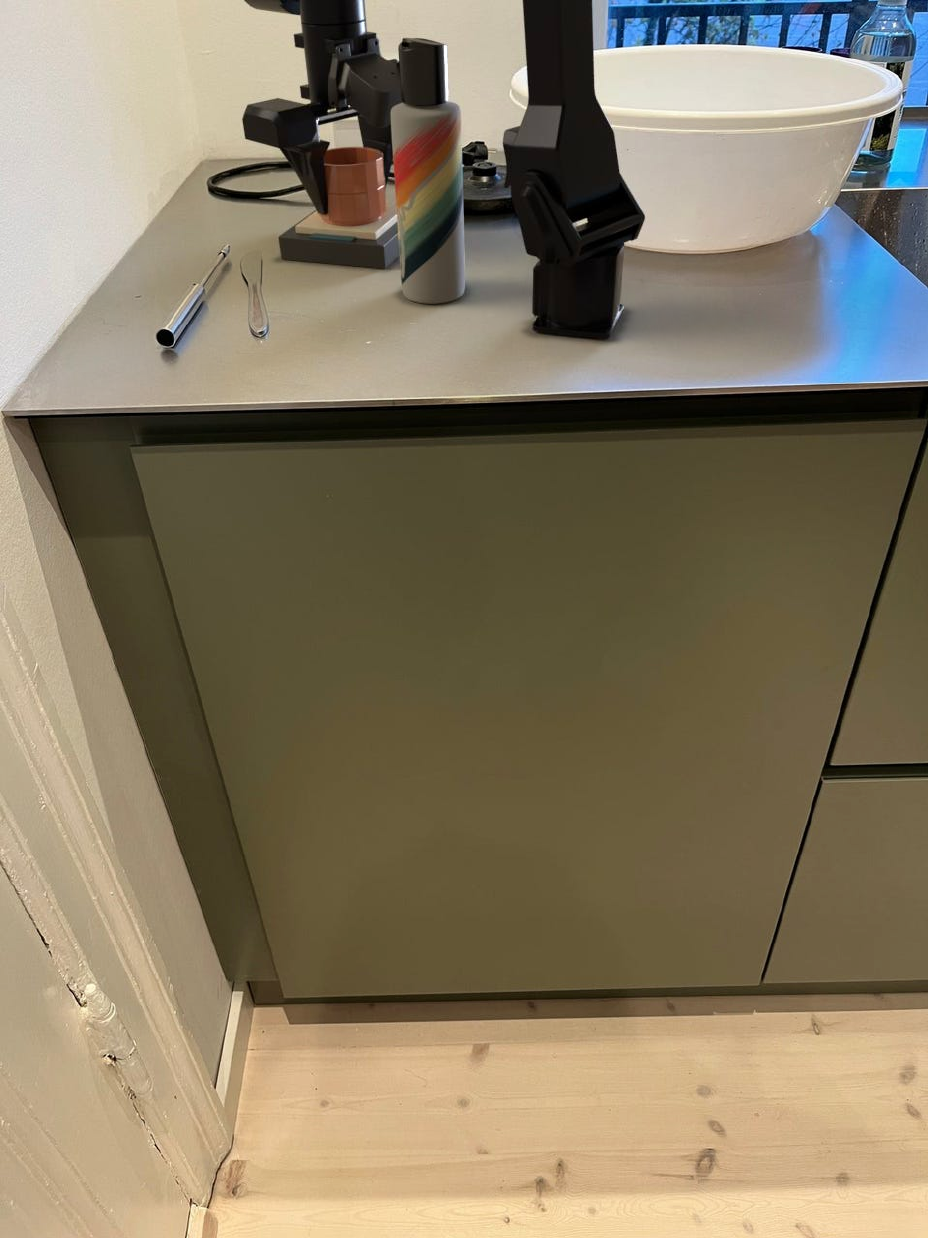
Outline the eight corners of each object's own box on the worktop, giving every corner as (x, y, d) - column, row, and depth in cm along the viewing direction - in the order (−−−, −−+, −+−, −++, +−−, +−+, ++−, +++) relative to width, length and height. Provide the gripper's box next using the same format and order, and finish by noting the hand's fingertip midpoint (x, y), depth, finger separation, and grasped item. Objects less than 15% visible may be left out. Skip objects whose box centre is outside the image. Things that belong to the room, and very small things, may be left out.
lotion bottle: (392, 288, 88) (373, 35, 76) (447, 276, 90) (439, 27, 78) (418, 309, 85) (404, 46, 72) (476, 296, 86) (472, 38, 74)
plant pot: (356, 200, 100) (351, 142, 96) (401, 214, 96) (397, 154, 92) (304, 216, 96) (296, 157, 93) (348, 231, 92) (342, 169, 89)
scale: (424, 231, 100) (423, 202, 99) (385, 269, 92) (382, 238, 91) (327, 223, 103) (324, 195, 101) (281, 259, 95) (276, 229, 93)
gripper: (306, 45, 76) (329, 248, 86) (473, 14, 86) (476, 198, 96) (224, 31, 82) (254, 222, 92) (389, 3, 92) (400, 178, 102)
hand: (351, 205), depth 95 cm, fingers closed on plant pot, 7 cm apart
